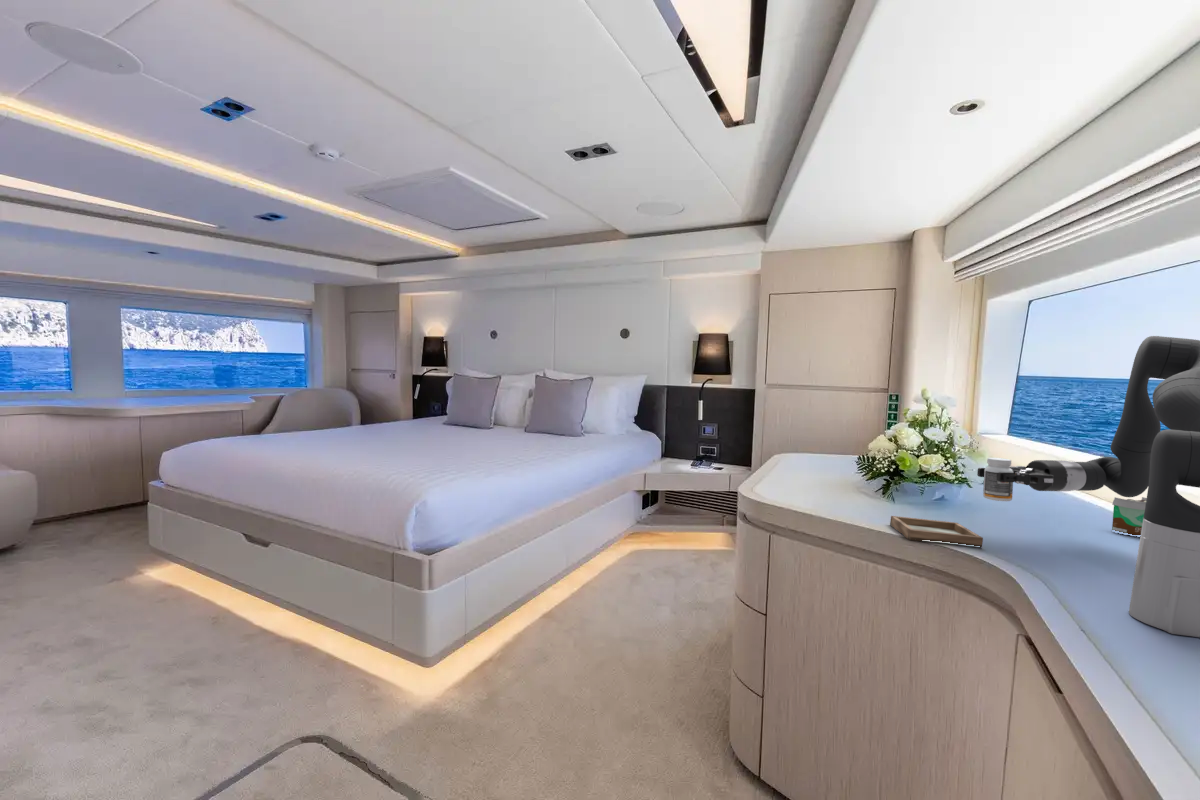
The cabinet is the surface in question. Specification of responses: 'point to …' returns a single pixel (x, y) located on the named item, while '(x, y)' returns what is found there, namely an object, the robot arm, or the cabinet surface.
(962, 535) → the tray
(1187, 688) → the cabinet surface
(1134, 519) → the food container
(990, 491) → the pill bottle
